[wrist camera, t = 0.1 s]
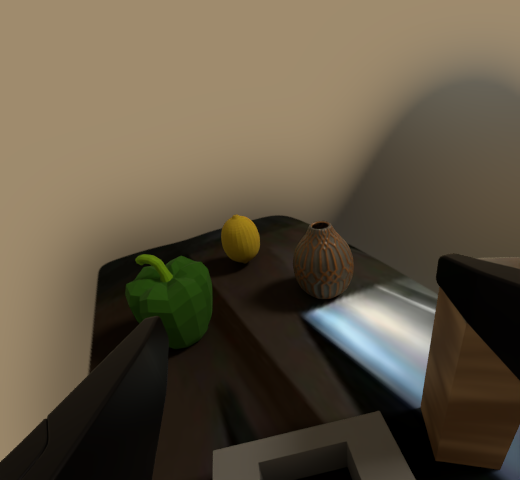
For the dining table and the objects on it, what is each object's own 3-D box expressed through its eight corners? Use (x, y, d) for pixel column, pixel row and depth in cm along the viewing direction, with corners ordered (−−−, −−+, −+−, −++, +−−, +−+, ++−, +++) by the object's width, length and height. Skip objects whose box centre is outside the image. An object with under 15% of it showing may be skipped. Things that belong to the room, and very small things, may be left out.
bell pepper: (237, 321, 33) (217, 245, 28) (178, 374, 27) (142, 291, 23) (192, 298, 38) (169, 231, 33) (135, 339, 33) (99, 266, 28)
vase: (323, 316, 31) (318, 247, 27) (285, 288, 36) (276, 227, 33) (366, 289, 34) (367, 222, 30) (324, 267, 39) (320, 208, 35)
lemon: (221, 265, 44) (208, 218, 41) (248, 250, 47) (239, 205, 44) (242, 277, 40) (230, 226, 37) (270, 260, 43) (262, 211, 40)
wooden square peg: (501, 470, 17) (574, 304, 11) (434, 461, 18) (470, 302, 12) (475, 412, 20) (522, 257, 15) (419, 406, 21) (442, 258, 15)
